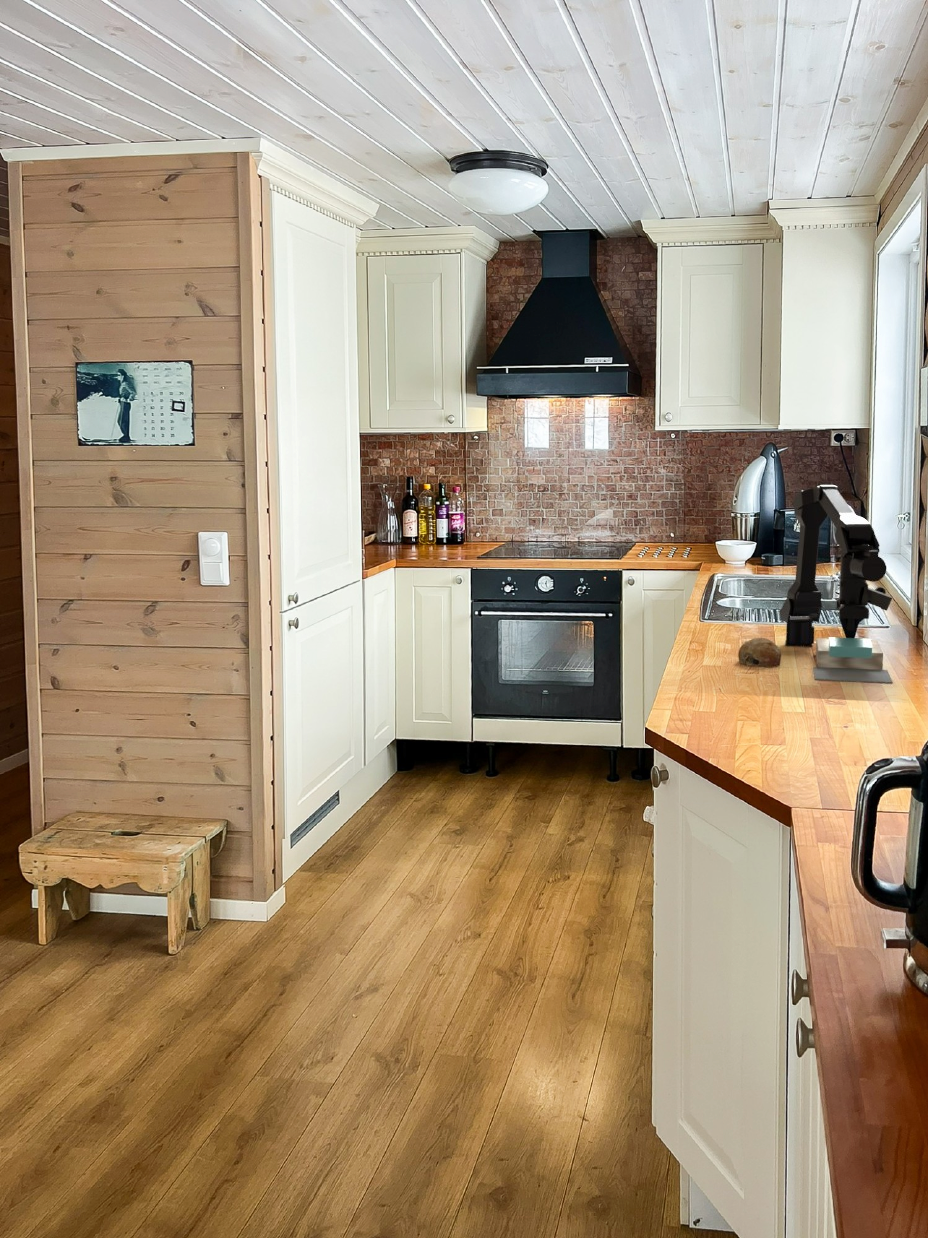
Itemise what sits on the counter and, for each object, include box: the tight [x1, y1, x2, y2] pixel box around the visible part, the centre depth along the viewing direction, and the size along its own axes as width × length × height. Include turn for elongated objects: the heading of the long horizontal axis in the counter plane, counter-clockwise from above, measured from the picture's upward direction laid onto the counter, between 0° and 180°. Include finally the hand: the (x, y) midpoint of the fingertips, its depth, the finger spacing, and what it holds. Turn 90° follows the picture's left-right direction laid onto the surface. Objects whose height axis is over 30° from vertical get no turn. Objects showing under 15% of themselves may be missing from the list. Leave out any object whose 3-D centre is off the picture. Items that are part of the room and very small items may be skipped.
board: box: [815, 637, 884, 670], centre depth 272 cm, size 14×18×4 cm
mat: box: [812, 666, 893, 684], centre depth 256 cm, size 16×14×1 cm
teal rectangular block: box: [828, 636, 872, 658], centre depth 262 cm, size 9×6×2 cm, turn 75°
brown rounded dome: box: [737, 637, 782, 668], centre depth 272 cm, size 10×10×8 cm
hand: (850, 644), depth 266 cm, fingers closed
